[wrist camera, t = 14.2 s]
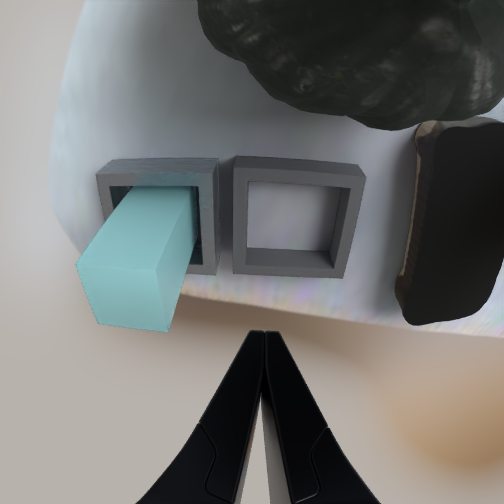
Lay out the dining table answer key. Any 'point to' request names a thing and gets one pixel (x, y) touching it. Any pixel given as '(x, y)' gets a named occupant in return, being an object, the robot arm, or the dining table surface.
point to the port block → (171, 174)
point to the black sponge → (454, 221)
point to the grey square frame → (297, 173)
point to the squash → (368, 55)
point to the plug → (141, 258)
